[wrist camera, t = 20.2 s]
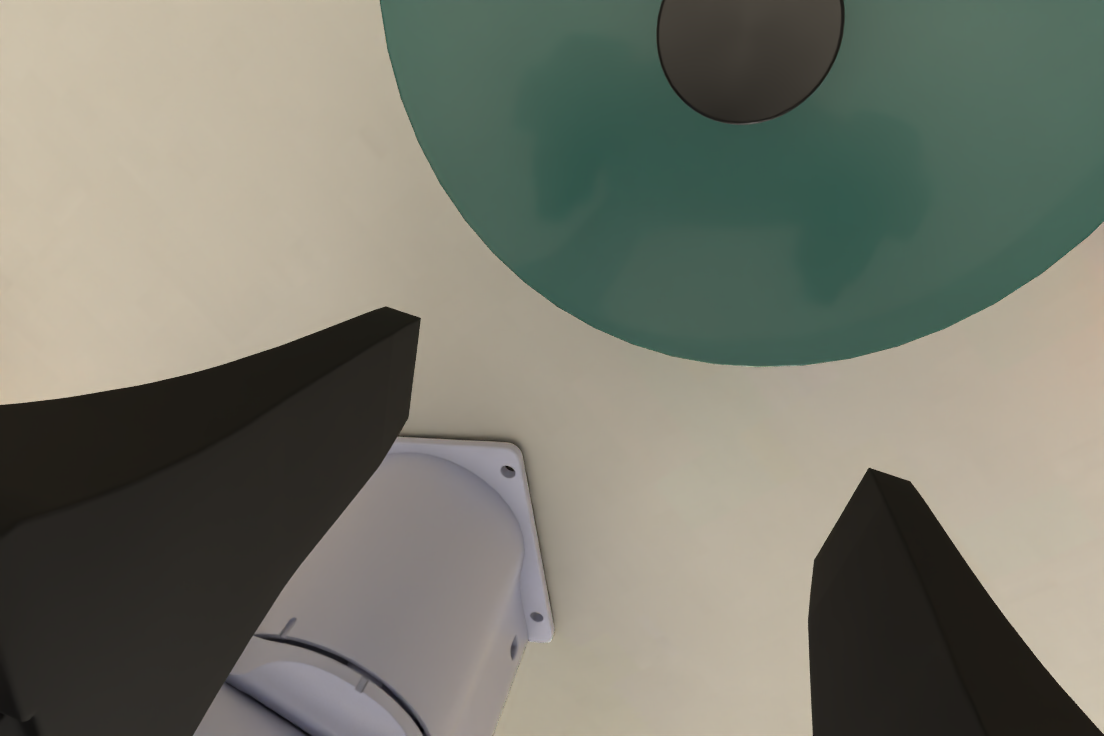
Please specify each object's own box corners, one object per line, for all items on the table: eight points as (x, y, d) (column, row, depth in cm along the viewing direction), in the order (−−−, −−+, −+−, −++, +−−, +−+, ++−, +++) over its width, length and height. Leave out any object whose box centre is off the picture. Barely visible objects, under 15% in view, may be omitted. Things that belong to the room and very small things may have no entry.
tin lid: (1128, 347, 15) (1239, 490, 11) (471, 341, 19) (393, 445, 15) (1428, -790, 8) (1956, -1379, 4) (315, -418, 12) (109, -563, 9)
